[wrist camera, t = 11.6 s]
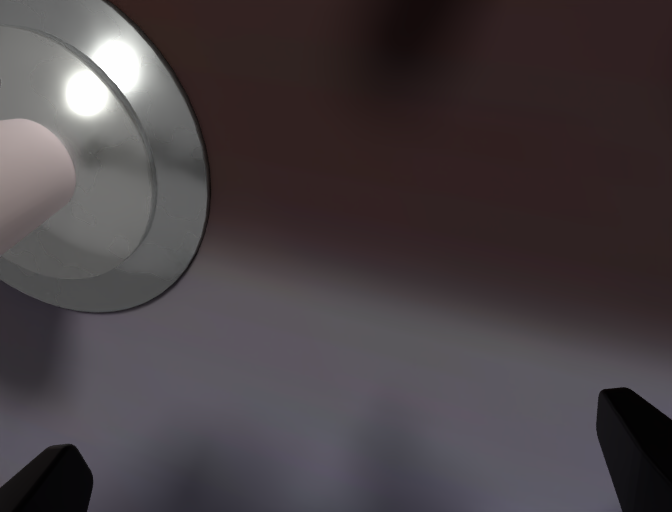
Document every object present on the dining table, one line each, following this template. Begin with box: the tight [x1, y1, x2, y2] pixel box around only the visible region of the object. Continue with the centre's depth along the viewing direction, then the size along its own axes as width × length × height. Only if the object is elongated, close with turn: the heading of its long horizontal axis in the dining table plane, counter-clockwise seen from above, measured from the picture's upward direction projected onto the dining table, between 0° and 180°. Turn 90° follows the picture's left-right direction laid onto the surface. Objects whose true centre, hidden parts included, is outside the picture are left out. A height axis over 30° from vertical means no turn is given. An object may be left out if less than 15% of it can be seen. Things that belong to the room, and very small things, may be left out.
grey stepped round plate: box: [0, 0, 211, 312], centre depth 22 cm, size 14×14×1 cm
